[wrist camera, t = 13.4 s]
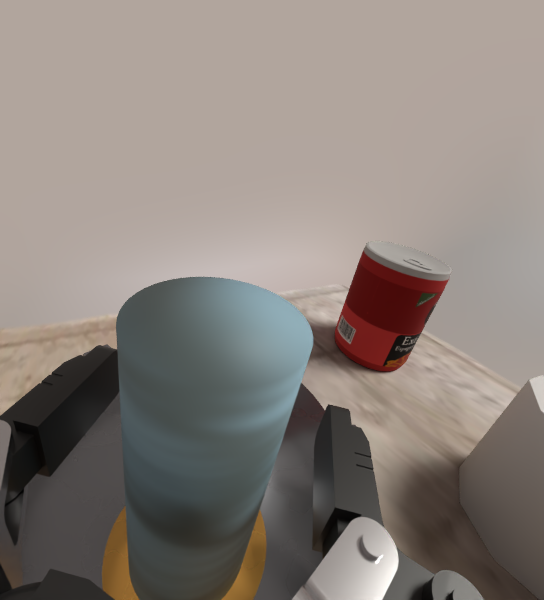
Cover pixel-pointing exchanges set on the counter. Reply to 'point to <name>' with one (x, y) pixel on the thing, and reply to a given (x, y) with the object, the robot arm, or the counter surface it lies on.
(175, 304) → the pin
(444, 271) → the canned food
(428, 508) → the counter surface
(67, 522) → the sprocket plate
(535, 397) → the toilet tissue
